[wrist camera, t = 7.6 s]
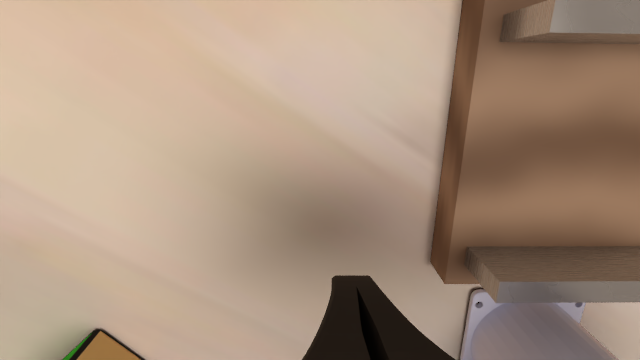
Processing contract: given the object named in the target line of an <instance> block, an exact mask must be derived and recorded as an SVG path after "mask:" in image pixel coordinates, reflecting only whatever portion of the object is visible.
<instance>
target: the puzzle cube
mask: <svg viewBox="0 0 640 360" xmlns="http://www.w3.org/2000/svg"><path fill="white" fill-rule="evenodd" d="M63 360H141V359H140V358H139V357H137V356H136V355H134V354H133V353H132V352H130V351H129V350H127V349H126V348H125V347H123V346H122V345H120V344H119V343H118V342H116V341H115V340H113V339H112V338H111V337H109V336H108V335H106V334H105V333H104V332H102V331H101V330H96V331H93V332H92V333H91V334H90V335H89V336H87V337H86V338H85V339H84V340H83V341H82V342H81V343H80V344H79V345H78V346H77V347H76V348H74V349H73V350H72V351H71V352H70V353H69V354H68V355H67V356H66V357H65V358H64V359H63Z"/></svg>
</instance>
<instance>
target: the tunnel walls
mask: <svg viewBox="0 0 640 360" xmlns="http://www.w3.org/2000/svg"><path fill="white" fill-rule="evenodd" d="M500 42H530V43H590V44H640V0H547V1H544V2H541V3H537V4H534V5H531V6H528V7H525V8H522V9H519V10H516V11H513V12H510V13H507V14H504V16H503V23H502V29H501V35H500ZM464 265H465V266H466V268H467V269H468V270H469V271H470V272H471V274H472V275H473V276H474V277H475V278H476V280H477V281H478V282H479V283H480V285H481V286H482V287H483V288H484V289H485V291H486V292H487V293H488V294H489V295H490V297H491V298H492V299H493V300H494V302H495V303H587V302H640V246H483V247H467V250H466V257H465V263H464Z"/></svg>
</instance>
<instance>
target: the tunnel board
mask: <svg viewBox="0 0 640 360" xmlns="http://www.w3.org/2000/svg"><path fill="white" fill-rule="evenodd" d="M544 1H547V0H463V3H462V11H461V19H460V27H459V35H458V43H457V51H456V60H455V68H454V76H453V84H452V92H451V100H450V108H449V116H448V124H447V132H446V140H445V148H444V156H443V164H442V172H441V180H440V188H439V196H438V205H437V213H436V221H435V229H434V237H433V245H432V253H431V261H430V262H431V264H432V265H433V267H434V268H435V270H436V271H437V273H438V274H439V276H440V277H441V279H442V280H443V282H444V284H480V283H479V282H478V281H477V280H476V278H475V277H474V276H473V275H472V274H471V272H470V271H469V270H468V269H467V268H466V266H465V265H464V263H465V257H466V250H467V247H483V246H640V44H590V43H530V42H500V35H501V29H502V23H503V16H504V14H507V13H510V12H513V11H516V10H519V9H522V8H525V7H528V6H531V5H534V4H537V3H541V2H544Z"/></svg>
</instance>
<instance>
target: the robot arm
mask: <svg viewBox="0 0 640 360" xmlns="http://www.w3.org/2000/svg"><path fill="white" fill-rule="evenodd" d="M477 302H480V303H479V304H476V303H477ZM584 307H585V303H495V302H494V300H493V299H492V298H491V297H490V295H489V294H488V293H487V292H486V291H485V289H479V290H475V291H473V292H472V294H471V297H470V303H469V308H468V314H467V320H466V326H465V332H464V338H463V344H462V350H461V355H460V360H618V359H617V358H616V357H615V356H614V355H613V354H612V353H611V352H609V351H608V350H607V349H606V348H605V347H604V346H603V345H602V344H601V343H600V342H598V341H597V340H596V339H595V338H594V337H593V336H592V335H591V334H590V333H589V332H588V331H586V330H585V329H584V328H583V327H582V326H581V325H580V321H581V317H582V314H583V310H584ZM302 360H455V359H454V358H452V357H451V356H450V355H448V354H447V353H446V352H444V351H443V350H442V349H440V348H439V347H438V346H437V345H435V344H434V343H433V342H432V341H431V340H429V339H428V338H427V337H426V336H425V335H423V334H422V333H421V332H420V331H419V330H418V329H417V328H416V327H415V326H414V325H413V324H412V323H410V322H409V321H408V320H407V318H406V317H405V316H404V315H403V314H402V313H401V312H400V311H399V310H398V309H397V308H396V307H395V306H394V305H393V303H392V302H391V301H390V300H389V299H388V298H387V297H386V295H385V294H384V293H383V292H382V291H381V289H380V288H379V287H378V286H377V284H376V283H375V282H374V281H373V279H372V278H371V277H370V276H334V277H333V278H332V291H331V296H330V300H329V303H328V306H327V310H326V313H325V315H324V318H323V320H322V323H321V325H320V327H319V330H318V332H317V334H316V336H315V338H314V340H313V342H312V344H311V346H310V347H309V349H308V351H307V353H306V354H305V356H304V358H303V359H302Z"/></svg>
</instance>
